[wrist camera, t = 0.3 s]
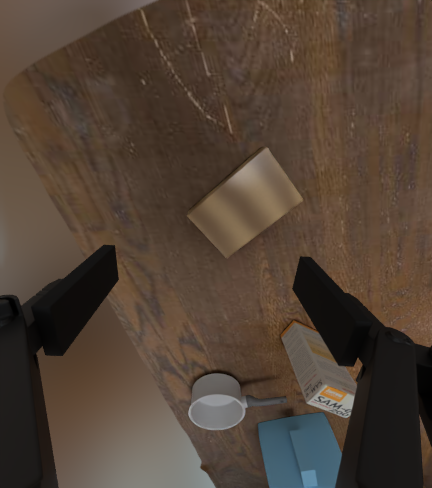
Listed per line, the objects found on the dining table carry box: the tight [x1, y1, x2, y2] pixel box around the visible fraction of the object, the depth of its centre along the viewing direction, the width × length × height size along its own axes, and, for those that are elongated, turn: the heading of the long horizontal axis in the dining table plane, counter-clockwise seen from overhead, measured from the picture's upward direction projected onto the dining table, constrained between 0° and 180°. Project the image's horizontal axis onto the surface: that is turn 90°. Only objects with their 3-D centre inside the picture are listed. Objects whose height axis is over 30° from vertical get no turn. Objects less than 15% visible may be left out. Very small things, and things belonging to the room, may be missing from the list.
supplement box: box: [281, 320, 357, 418], centre depth 38 cm, size 8×5×13 cm, turn 60°
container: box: [258, 412, 342, 488], centre depth 50 cm, size 17×25×15 cm
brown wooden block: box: [187, 147, 303, 258], centre depth 32 cm, size 14×9×3 cm, turn 130°
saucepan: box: [189, 373, 287, 430], centre depth 47 cm, size 12×20×6 cm, turn 104°
